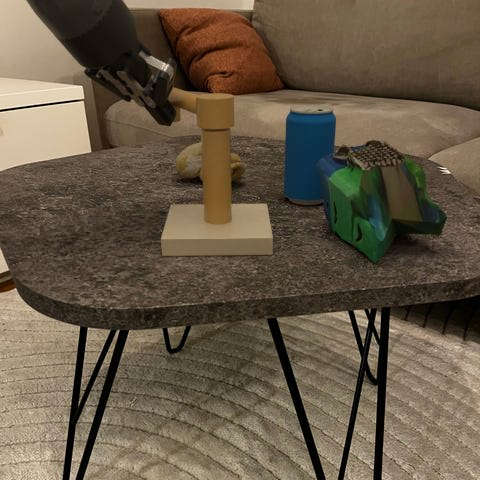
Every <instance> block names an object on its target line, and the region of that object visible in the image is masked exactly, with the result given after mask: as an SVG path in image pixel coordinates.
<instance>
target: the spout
mask: <svg viewBox="0 0 480 480" xmlns="http://www.w3.org/2000/svg"><path fill="white" fill-rule="evenodd" d="M168 100H169V102H170V103H171V104H172V106H173V107H174V108H175V110H176V112H177V113H176V117H175V119H174V121H173V122H172V123H179V122H181V121H182V115H181V110H184V111H186V112H189V113H192V114H195V115H196V127H197V128H200V129H202V128H204V129H226V128H230V129H231V128H233V127H235V95H233V94H230V93H219V92H218V93H216V92H215V93H202V94H195V93H193V92H190V91H187V90H183V89H181V88H176V87H173V89H172V91H171V93H170V95H169V97H168Z"/></svg>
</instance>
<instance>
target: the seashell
mask: <svg viewBox="0 0 480 480" xmlns="http://www.w3.org/2000/svg"><path fill="white" fill-rule="evenodd" d="M174 165H175V170H176V172H178V173H179V175H180V176H183V177H184V178H187V179H195V178H197V177H199V179H200V181H201V182H203V173H202V146H201V141H200V142H198V143H193V144H191V145H188V146H186V147H185V148H184V149H182V151H180V153H179V154H178V155H177V156H176V159H175V162H174ZM246 171H247V166H246V164H245V163H243V162H242V159H241V157H240V156H239V155H238V154H237V153H233V152H231V183H233V182H234V181H235V180H237V179H239V178H240V177H241V176H243V175H244V173H245V172H246Z"/></svg>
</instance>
